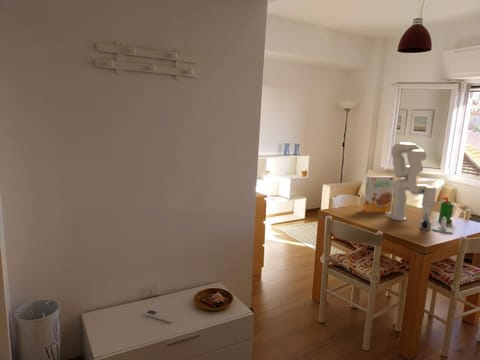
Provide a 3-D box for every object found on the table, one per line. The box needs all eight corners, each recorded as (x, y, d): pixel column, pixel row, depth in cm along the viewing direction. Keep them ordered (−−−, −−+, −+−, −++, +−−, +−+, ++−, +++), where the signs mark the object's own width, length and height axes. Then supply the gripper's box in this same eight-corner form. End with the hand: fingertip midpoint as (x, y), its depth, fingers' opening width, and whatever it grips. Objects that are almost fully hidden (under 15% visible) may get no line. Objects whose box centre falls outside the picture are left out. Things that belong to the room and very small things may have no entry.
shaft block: (432, 230, 244) (434, 217, 242) (433, 226, 254) (435, 214, 252) (451, 234, 238) (453, 220, 236) (452, 230, 247) (454, 217, 246)
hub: (419, 228, 248) (420, 221, 247) (420, 226, 254) (421, 219, 253) (429, 230, 245) (430, 223, 244) (430, 228, 250) (431, 221, 249)
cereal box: (367, 212, 289) (370, 177, 284) (362, 210, 295) (366, 176, 290) (390, 211, 295) (394, 177, 290) (385, 209, 301) (389, 175, 295)
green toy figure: (453, 224, 261) (457, 199, 258) (441, 223, 263) (444, 198, 260) (448, 220, 271) (452, 196, 268) (436, 219, 273) (439, 195, 269)
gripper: (423, 200, 255) (420, 222, 258) (420, 204, 241) (417, 228, 244) (435, 202, 251) (432, 224, 254) (433, 206, 237) (429, 230, 240)
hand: (425, 226), depth 249 cm, fingers open, 9 cm apart
